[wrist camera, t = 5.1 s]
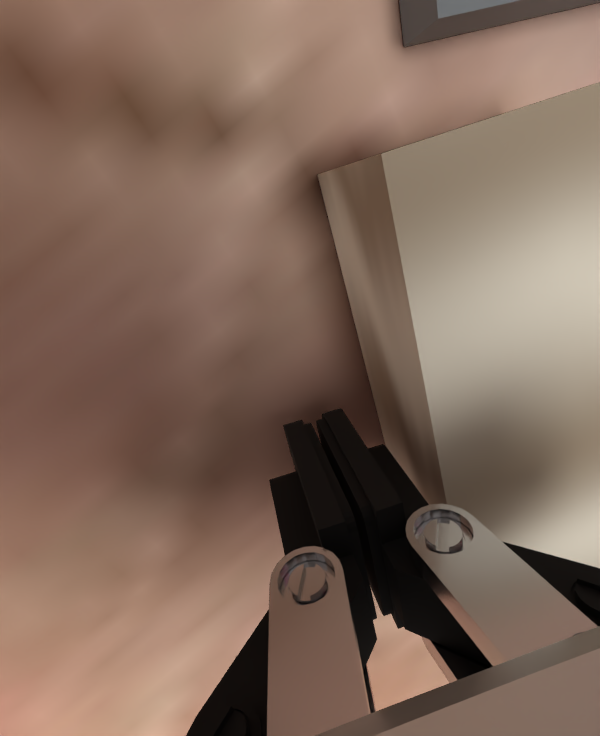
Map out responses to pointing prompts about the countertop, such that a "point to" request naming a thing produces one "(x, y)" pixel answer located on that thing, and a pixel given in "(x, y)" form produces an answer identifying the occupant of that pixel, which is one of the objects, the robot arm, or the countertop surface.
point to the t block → (486, 315)
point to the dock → (470, 15)
